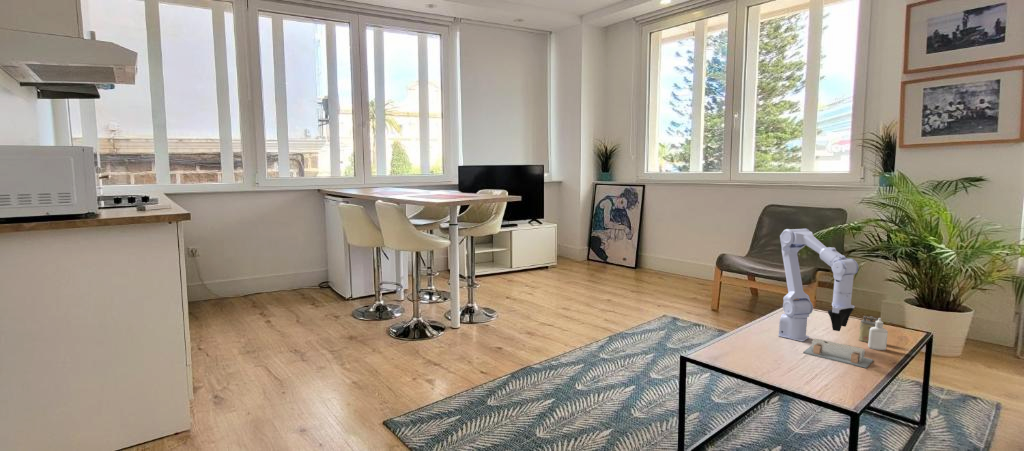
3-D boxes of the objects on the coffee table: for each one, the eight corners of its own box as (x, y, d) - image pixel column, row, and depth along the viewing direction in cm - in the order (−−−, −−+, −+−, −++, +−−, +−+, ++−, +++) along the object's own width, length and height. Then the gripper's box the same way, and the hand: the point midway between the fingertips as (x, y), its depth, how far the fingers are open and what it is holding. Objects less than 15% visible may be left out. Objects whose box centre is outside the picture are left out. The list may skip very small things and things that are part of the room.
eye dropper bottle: (883, 352, 199) (886, 321, 198) (866, 347, 204) (869, 317, 202) (887, 349, 202) (890, 318, 200) (870, 345, 206) (873, 315, 205)
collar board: (803, 353, 197) (803, 344, 197) (811, 346, 204) (812, 337, 204) (866, 368, 183) (867, 358, 183) (873, 360, 190) (874, 351, 190)
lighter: (880, 342, 209) (882, 318, 208) (879, 345, 207) (881, 320, 205) (859, 338, 214) (861, 314, 213) (857, 340, 211) (859, 316, 210)
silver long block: (863, 360, 190) (864, 348, 189) (861, 362, 187) (862, 351, 186) (814, 348, 201) (815, 338, 200) (811, 351, 198) (811, 340, 198)
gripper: (849, 297, 184) (846, 335, 186) (860, 290, 194) (857, 326, 196) (827, 293, 189) (823, 330, 191) (838, 287, 199) (835, 322, 201)
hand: (839, 328), depth 194 cm, fingers open, 7 cm apart
